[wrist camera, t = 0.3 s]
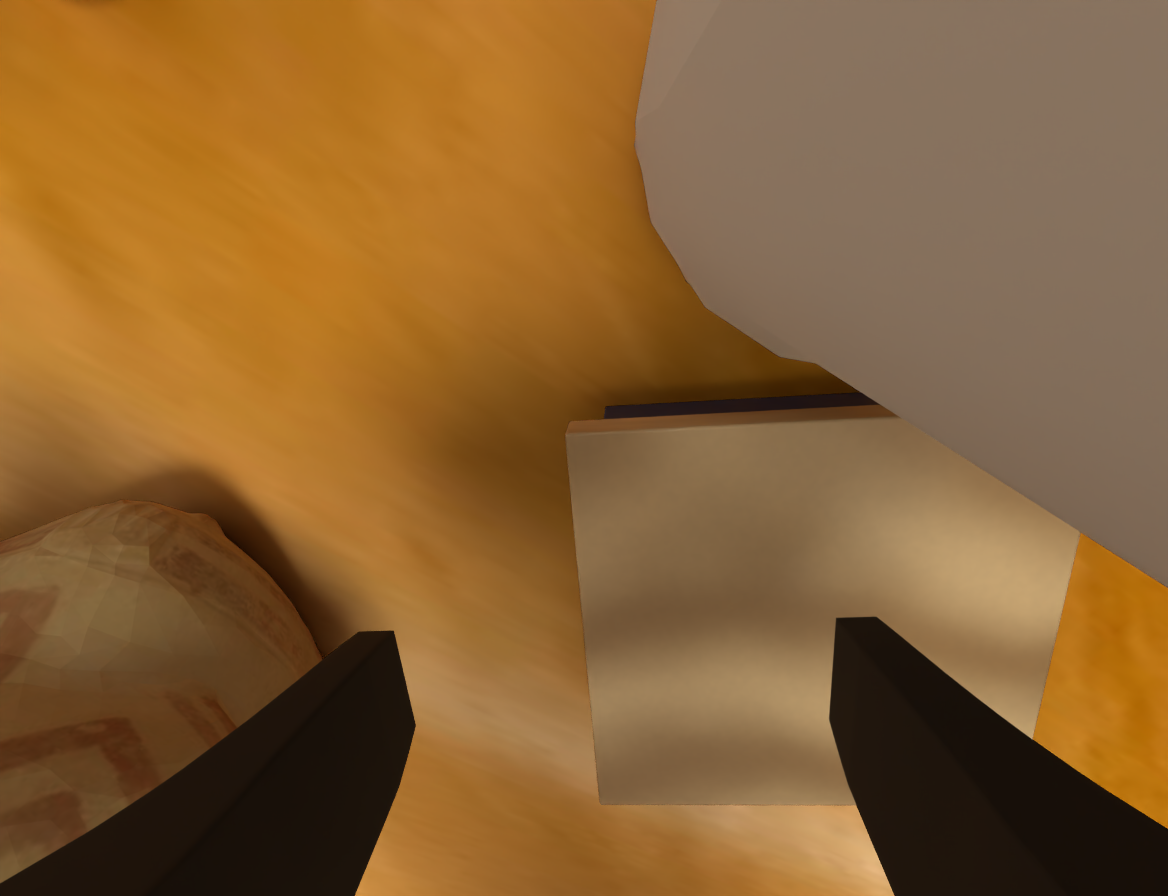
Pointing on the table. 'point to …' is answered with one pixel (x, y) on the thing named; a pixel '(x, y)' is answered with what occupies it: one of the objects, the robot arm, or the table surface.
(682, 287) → the table surface
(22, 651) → the ceramic vessel
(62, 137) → the table surface
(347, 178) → the table surface
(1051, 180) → the bottle
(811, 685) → the box
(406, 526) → the table surface
